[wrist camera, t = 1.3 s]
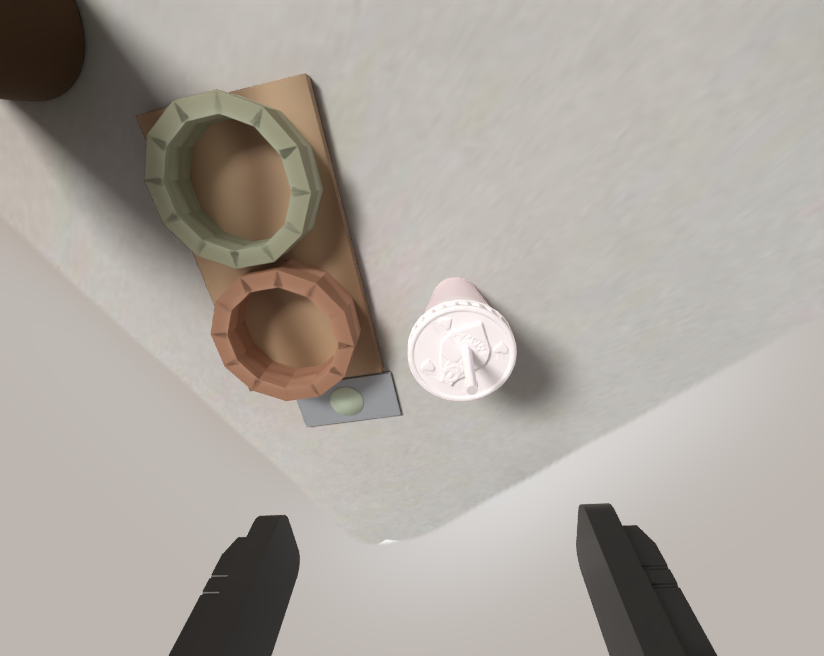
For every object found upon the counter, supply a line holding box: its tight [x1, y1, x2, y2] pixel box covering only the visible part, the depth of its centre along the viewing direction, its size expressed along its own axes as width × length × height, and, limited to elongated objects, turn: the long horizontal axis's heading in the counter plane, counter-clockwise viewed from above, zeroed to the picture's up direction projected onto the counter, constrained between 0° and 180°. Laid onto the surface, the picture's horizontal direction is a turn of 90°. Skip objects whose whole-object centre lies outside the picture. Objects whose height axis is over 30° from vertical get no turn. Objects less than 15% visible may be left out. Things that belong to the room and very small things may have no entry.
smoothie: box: [408, 277, 517, 401], centre depth 26 cm, size 6×6×14 cm
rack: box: [136, 74, 383, 401], centre depth 30 cm, size 12×22×4 cm, turn 11°
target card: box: [297, 372, 401, 427], centre depth 37 cm, size 9×4×1 cm, turn 101°
